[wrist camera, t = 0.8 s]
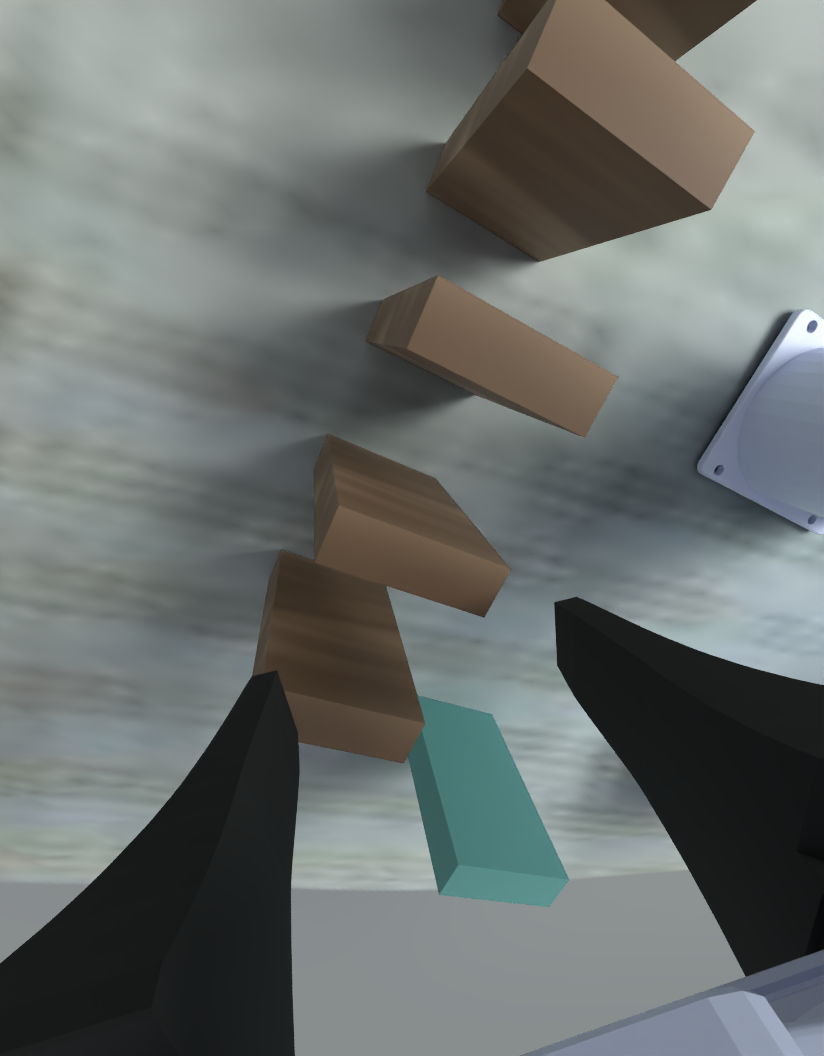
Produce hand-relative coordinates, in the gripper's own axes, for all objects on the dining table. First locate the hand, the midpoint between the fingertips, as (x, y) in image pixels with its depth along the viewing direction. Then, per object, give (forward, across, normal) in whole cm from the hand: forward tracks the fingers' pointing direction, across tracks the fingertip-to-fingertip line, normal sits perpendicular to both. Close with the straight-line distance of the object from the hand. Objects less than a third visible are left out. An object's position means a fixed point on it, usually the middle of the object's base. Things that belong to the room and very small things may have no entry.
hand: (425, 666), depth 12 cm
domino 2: (+10, -3, -7) cm, 13 cm away
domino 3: (+10, 0, -2) cm, 11 cm away
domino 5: (+10, -2, +12) cm, 16 cm away
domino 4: (+10, +3, +2) cm, 11 cm away
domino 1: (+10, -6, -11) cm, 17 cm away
